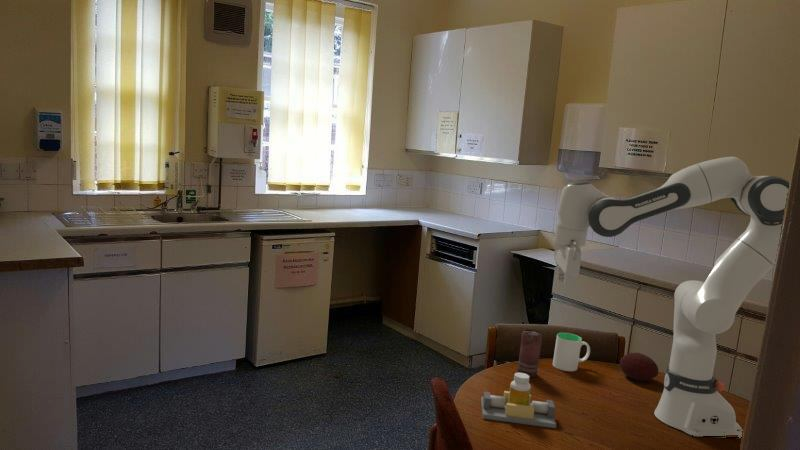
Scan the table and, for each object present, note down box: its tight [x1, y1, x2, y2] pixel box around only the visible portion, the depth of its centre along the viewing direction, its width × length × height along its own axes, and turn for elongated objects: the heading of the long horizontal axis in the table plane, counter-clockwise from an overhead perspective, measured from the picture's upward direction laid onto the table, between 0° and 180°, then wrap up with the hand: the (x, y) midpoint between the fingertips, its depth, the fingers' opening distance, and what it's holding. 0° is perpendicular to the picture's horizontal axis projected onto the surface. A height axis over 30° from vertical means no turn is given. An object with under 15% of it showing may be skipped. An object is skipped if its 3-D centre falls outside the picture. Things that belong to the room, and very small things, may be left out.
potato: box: [619, 352, 659, 381], centre depth 199 cm, size 12×11×8 cm
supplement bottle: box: [508, 372, 532, 406], centre depth 164 cm, size 5×5×10 cm
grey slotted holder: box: [480, 390, 557, 429], centre depth 164 cm, size 19×11×4 cm, turn 85°
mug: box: [552, 332, 591, 372], centre depth 204 cm, size 12×8×10 cm, turn 102°
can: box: [517, 329, 543, 379], centre depth 193 cm, size 6×6×14 cm
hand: (563, 284), depth 177 cm, fingers open, 8 cm apart
